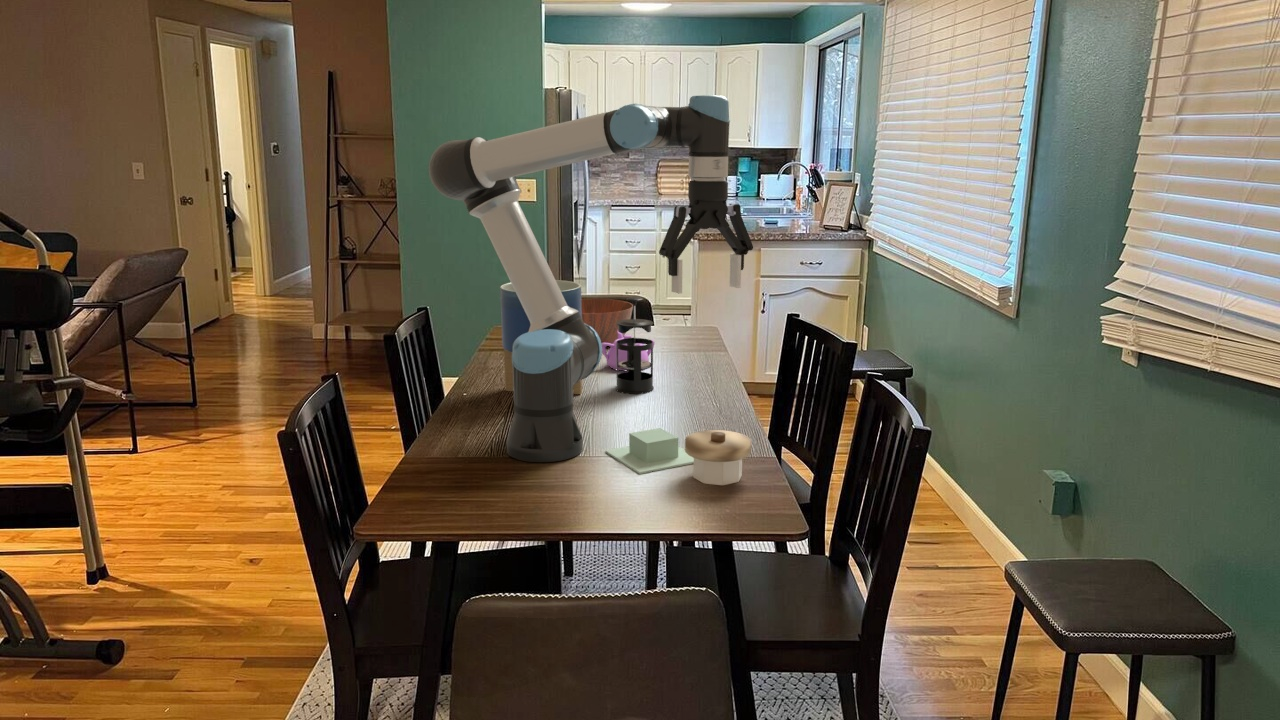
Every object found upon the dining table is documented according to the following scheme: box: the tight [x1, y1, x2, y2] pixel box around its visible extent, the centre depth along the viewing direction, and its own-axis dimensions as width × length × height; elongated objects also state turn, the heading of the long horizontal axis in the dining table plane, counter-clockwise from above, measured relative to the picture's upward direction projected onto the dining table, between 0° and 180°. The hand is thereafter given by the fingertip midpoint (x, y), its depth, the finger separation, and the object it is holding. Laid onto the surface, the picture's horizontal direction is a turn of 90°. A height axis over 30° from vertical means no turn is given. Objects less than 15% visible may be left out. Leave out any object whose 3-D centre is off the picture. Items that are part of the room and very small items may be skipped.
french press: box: [615, 296, 654, 395], centre depth 227 cm, size 12×9×23 cm
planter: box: [499, 279, 583, 395], centre depth 224 cm, size 19×19×26 cm
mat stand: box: [604, 427, 694, 475], centre depth 181 cm, size 14×14×4 cm
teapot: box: [602, 331, 655, 370], centre depth 250 cm, size 12×14×9 cm
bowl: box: [581, 298, 634, 344], centre depth 280 cm, size 25×25×11 cm
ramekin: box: [692, 458, 743, 486], centre depth 170 cm, size 8×8×5 cm
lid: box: [684, 429, 752, 462], centre depth 169 cm, size 12×12×3 cm
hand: (706, 289), depth 182 cm, fingers open, 13 cm apart
